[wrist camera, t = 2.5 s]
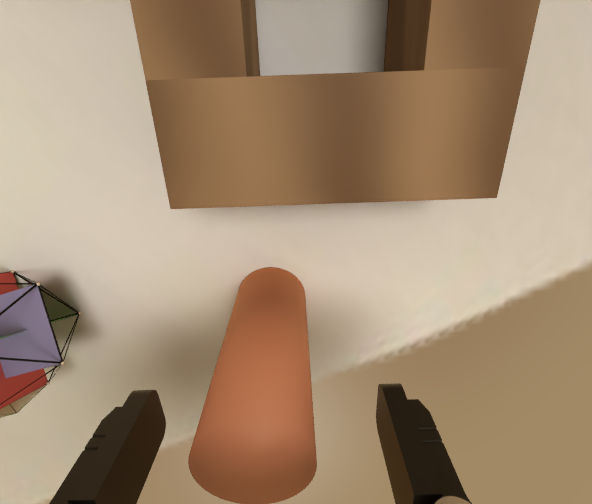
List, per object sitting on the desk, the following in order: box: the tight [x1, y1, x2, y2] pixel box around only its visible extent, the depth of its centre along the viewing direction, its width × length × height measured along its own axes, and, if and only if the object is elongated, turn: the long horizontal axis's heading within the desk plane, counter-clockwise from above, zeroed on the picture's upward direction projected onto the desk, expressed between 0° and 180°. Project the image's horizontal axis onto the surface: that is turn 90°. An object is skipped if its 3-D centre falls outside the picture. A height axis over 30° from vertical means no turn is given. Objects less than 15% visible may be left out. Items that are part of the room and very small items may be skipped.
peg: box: [188, 267, 317, 504], centre depth 15 cm, size 4×4×10 cm
